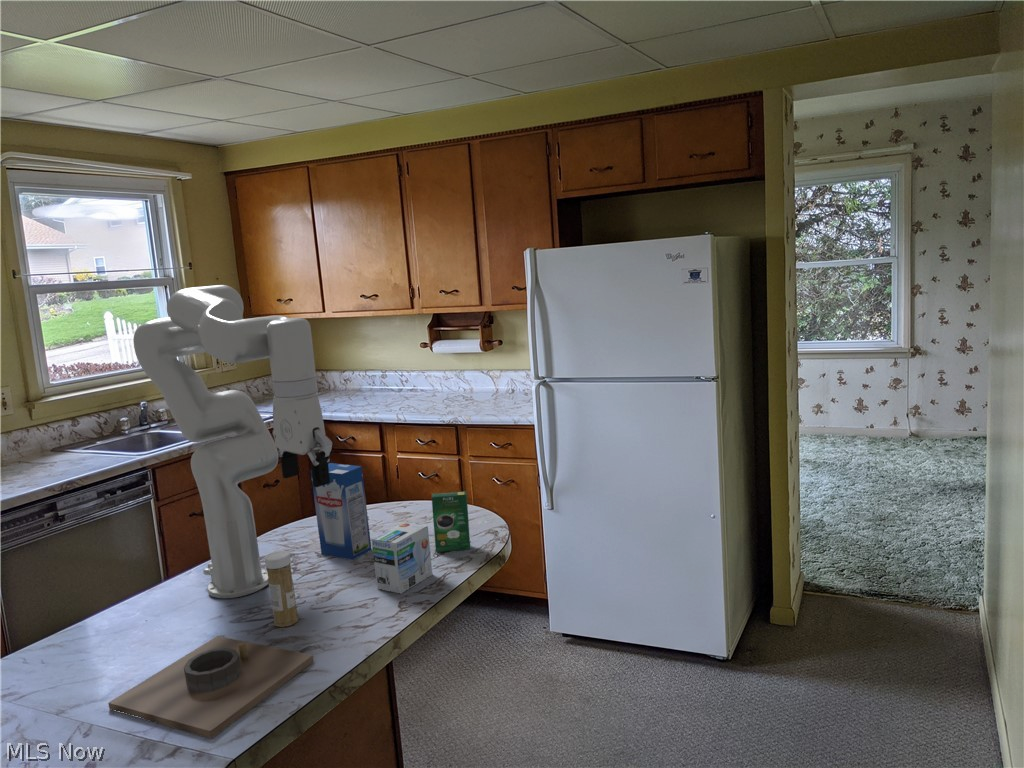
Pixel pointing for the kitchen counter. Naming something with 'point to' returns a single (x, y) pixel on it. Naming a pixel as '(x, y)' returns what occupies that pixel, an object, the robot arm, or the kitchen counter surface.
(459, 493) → the coffee box
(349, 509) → the milk carton
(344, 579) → the kitchen counter surface
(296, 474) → the robot arm
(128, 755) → the kitchen counter surface
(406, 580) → the light bulb box
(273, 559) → the sprinkles bottle
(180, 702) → the collar board
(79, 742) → the kitchen counter surface
